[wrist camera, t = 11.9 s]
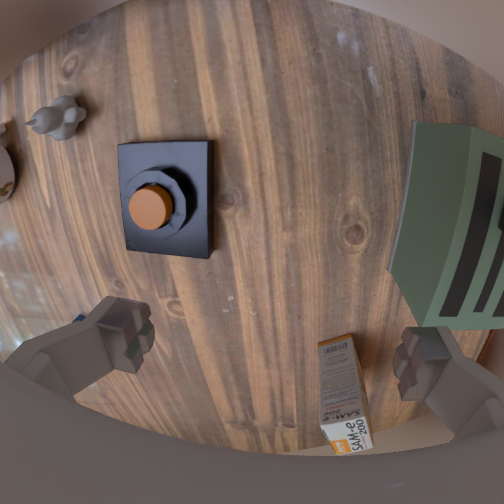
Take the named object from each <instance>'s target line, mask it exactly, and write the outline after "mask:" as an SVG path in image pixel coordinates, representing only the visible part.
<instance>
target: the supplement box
mask: <svg viewBox="0 0 504 504" xmlns="http://www.w3.org/2000/svg"><path fill="white" fill-rule="evenodd" d="M318 357H319V386H320V427H321V429H322V431H323V432H324V434H325V436H326V438H327V440H328V442H329V443H330V445H331V447H332V449H333V450H334V452H335V454H336V455H342V454H347V453H352V452H356V451H361V450H365V449H369V448H372V447H374V444H373V436H372V427H371V418H370V411H369V404H368V398H367V392H366V387H365V382H364V377H363V372H362V368H361V365H360V362H359V359H358V356H357V352H356V349H355V345H354V342H353V338H352V335H351V334H347V335H345V336H341V337H338V338H335V339H331V340H327V341H324V342H321V343H318Z"/></svg>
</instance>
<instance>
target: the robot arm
mask: <svg viewBox="0 0 504 504" xmlns="http://www.w3.org/2000/svg"><path fill="white" fill-rule="evenodd" d="M150 315H151V311H150V307H149V305H148V304H147V303H144V302H139V301H134V300H129V299H124V298H119V297H114V296H106V297H105V298H104V299H103V300H102V301H101V302H100V303H99V304H98V305H97V306H96V307H95V308H94V309H93V310H92V311H91V312H90V313H89V314H88V316H87V317H86V318H85V319H84V320H83V321H79V320H78V321H76V322H73V323H71V324H68V325H66V326H63V327H61V328H58V329H55V330H53V331H50V332H48V333H45V334H43V335H40V336H37V337H35V338H32V339H30V340H27V341H25V342H23V343H22V344H21V345H20V346H19V347H18V348H17V349H16V350H15V351H14V352H13V354H12V355H11V356H10V357H9V358H8V359H7V360H6V361H5V362H4V363H3V362H1V361H0V504H504V382H503V381H502V380H500V379H499V378H498V377H496V376H495V375H493V374H492V373H491V372H489V371H488V370H486V369H485V368H483V367H482V366H481V365H479V364H478V363H476V362H475V361H473V360H472V359H471V358H469V357H466V358H465V356H464V354H463V352H462V351H461V349H460V347H459V345H458V343H457V342H456V340H455V338H454V336H453V335H452V333H451V331H450V330H449V328H448V327H446V326H433V327H406V328H405V330H404V331H403V333H402V336H401V338H402V341H403V343H402V344H400V345H399V346H398V347H397V348H396V351H395V353H394V357H393V371H394V375H395V376H396V377H397V378H398V379H399V380H400V382H399V384H398V389H399V393H400V396H401V400H402V401H413V400H424V401H425V402H426V404H427V405H428V406H429V407H430V408H431V409H432V410H433V411H434V412H435V414H436V415H437V416H438V417H439V418H440V419H441V420H442V421H443V422H444V424H445V425H446V426H447V427H448V428H449V429H450V430H451V431H452V432H453V433H454V435H455V437H454V438H453V439H452V440H451V441H450V442H449V443H445V444H440V445H435V446H430V447H425V448H420V449H413V450H406V451H399V452H391V453H381V454H370V455H353V456H300V455H282V454H270V453H260V452H252V451H244V450H237V449H230V448H224V447H219V446H213V445H208V444H203V443H198V442H193V441H189V440H185V439H181V438H177V437H173V436H169V435H165V434H161V433H158V432H154V431H151V430H148V429H144V428H141V427H138V426H135V425H132V424H129V423H126V422H123V421H120V420H118V419H115V418H112V417H109V416H107V415H104V414H102V413H99V412H97V411H94V410H92V409H89V408H87V407H85V406H82V405H80V404H78V403H77V402H76V400H75V398H74V397H73V395H75V394H76V393H78V392H80V391H81V390H83V389H84V388H86V387H88V386H89V385H91V384H92V383H94V382H95V381H97V380H99V379H100V378H102V377H103V376H105V375H106V374H108V373H110V372H111V371H113V370H114V369H117V370H121V371H124V372H128V373H132V374H136V373H137V371H138V369H139V368H140V366H141V364H142V363H143V361H144V359H143V356H142V355H143V354H145V353H147V352H149V351H150V349H151V348H152V346H153V342H154V338H155V330H154V325H153V324H152V323H151V321H150V320H149V319H148V318H149V317H150Z"/></svg>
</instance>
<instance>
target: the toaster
mask: <svg viewBox="0 0 504 504" xmlns="http://www.w3.org/2000/svg"><path fill="white" fill-rule="evenodd" d="M503 205H504V139H503V138H501V137H499V136H496V135H494V134H492V133H489V132H487V131H484V130H482V129H479V128H477V127H474V126H468V125H457V124H442V123H424V122H421V121H417V120H412V123H411V134H410V144H409V153H408V162H407V169H406V176H405V183H404V189H403V195H402V201H401V206H400V212H399V217H398V222H397V227H396V231H395V236H394V240H393V245H392V249H391V253H390V257H389V261H388V265H387V271H388V273H392V275H393V277H394V279H395V281H396V282H397V284H398V286H399V288H400V290H401V292H402V294H403V296H404V298H405V300H406V302H407V304H408V305H409V307H410V309H411V311H412V314H413V316H414V318H415V320H416V322H417V324H418V326H419V327H433V326H446V327H448V328H449V330H482V329H503V328H504V232H503V231H502V230H500V229H499V228H498V226H499V222H500V218H501V214H502V209H503Z"/></svg>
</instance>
